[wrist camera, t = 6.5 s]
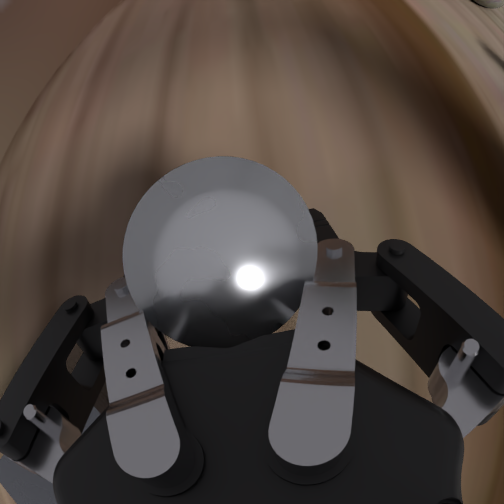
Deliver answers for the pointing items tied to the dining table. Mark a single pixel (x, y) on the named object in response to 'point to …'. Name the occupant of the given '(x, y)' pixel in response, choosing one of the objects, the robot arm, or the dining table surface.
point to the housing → (219, 252)
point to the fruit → (490, 3)
